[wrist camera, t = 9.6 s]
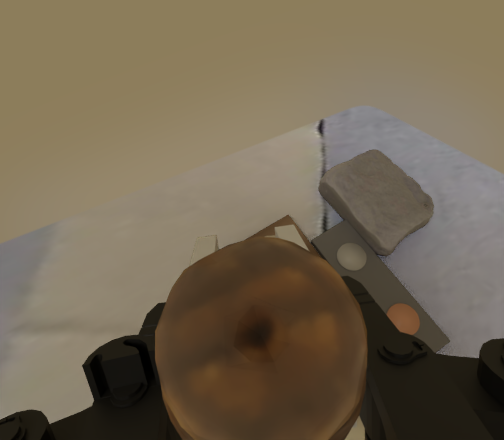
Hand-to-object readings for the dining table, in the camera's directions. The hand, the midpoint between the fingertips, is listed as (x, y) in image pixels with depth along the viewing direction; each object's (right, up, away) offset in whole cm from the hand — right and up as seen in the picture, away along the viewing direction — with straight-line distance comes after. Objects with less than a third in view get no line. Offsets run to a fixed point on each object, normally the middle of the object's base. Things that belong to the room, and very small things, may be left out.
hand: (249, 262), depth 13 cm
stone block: (+15, +4, +27) cm, 32 cm away
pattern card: (+13, -6, +22) cm, 26 cm away
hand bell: (+1, -6, +3) cm, 7 cm away
